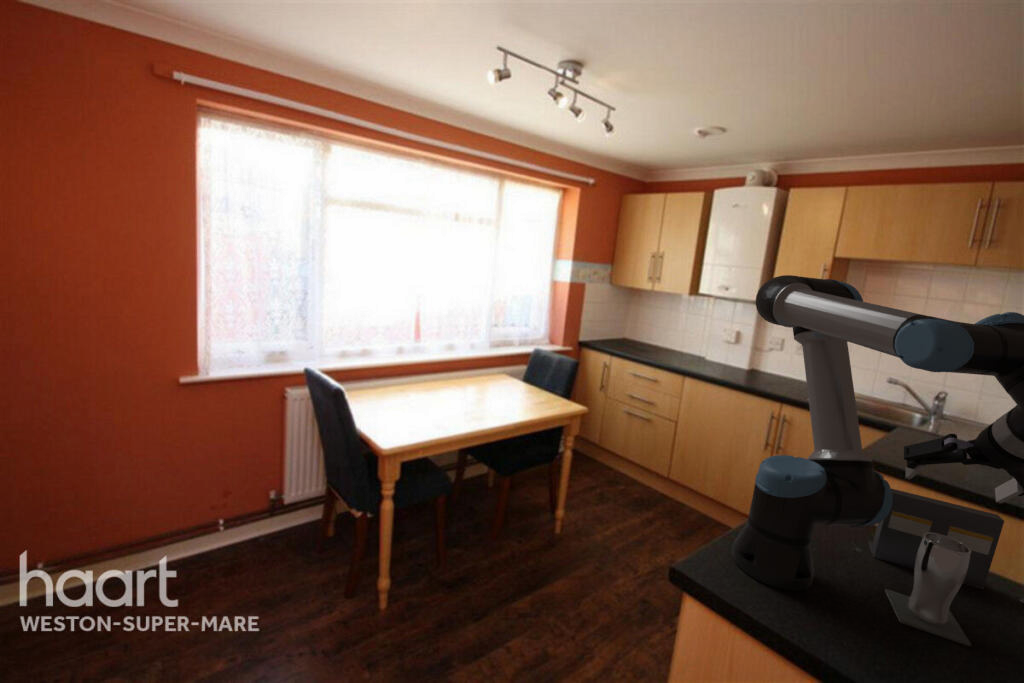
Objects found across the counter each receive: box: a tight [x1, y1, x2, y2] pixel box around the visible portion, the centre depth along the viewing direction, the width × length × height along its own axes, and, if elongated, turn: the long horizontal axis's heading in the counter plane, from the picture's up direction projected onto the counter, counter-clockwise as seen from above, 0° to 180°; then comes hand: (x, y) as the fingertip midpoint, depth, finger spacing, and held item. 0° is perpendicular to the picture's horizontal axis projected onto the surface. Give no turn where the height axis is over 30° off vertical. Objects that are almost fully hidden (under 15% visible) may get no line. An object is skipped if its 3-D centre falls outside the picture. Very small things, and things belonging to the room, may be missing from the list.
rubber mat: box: [884, 588, 972, 647], centre depth 88 cm, size 10×10×1 cm
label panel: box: [868, 488, 1005, 590], centre depth 104 cm, size 19×6×16 cm, turn 64°
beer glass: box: [906, 532, 971, 627], centre depth 87 cm, size 7×7×15 cm
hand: (951, 483), depth 90 cm, fingers open, 13 cm apart
